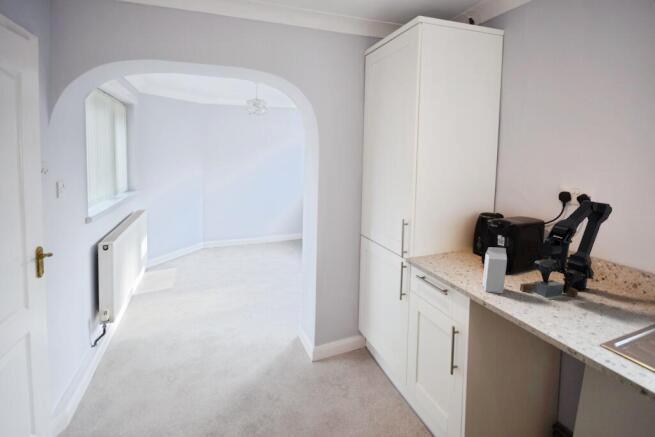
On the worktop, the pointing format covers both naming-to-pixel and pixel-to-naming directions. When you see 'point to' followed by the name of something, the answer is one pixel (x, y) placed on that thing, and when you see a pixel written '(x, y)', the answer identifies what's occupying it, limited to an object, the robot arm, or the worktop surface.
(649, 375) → the worktop surface
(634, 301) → the worktop surface
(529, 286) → the wooden corner frame
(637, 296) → the worktop surface
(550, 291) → the bracket
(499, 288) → the milk carton
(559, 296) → the pad
